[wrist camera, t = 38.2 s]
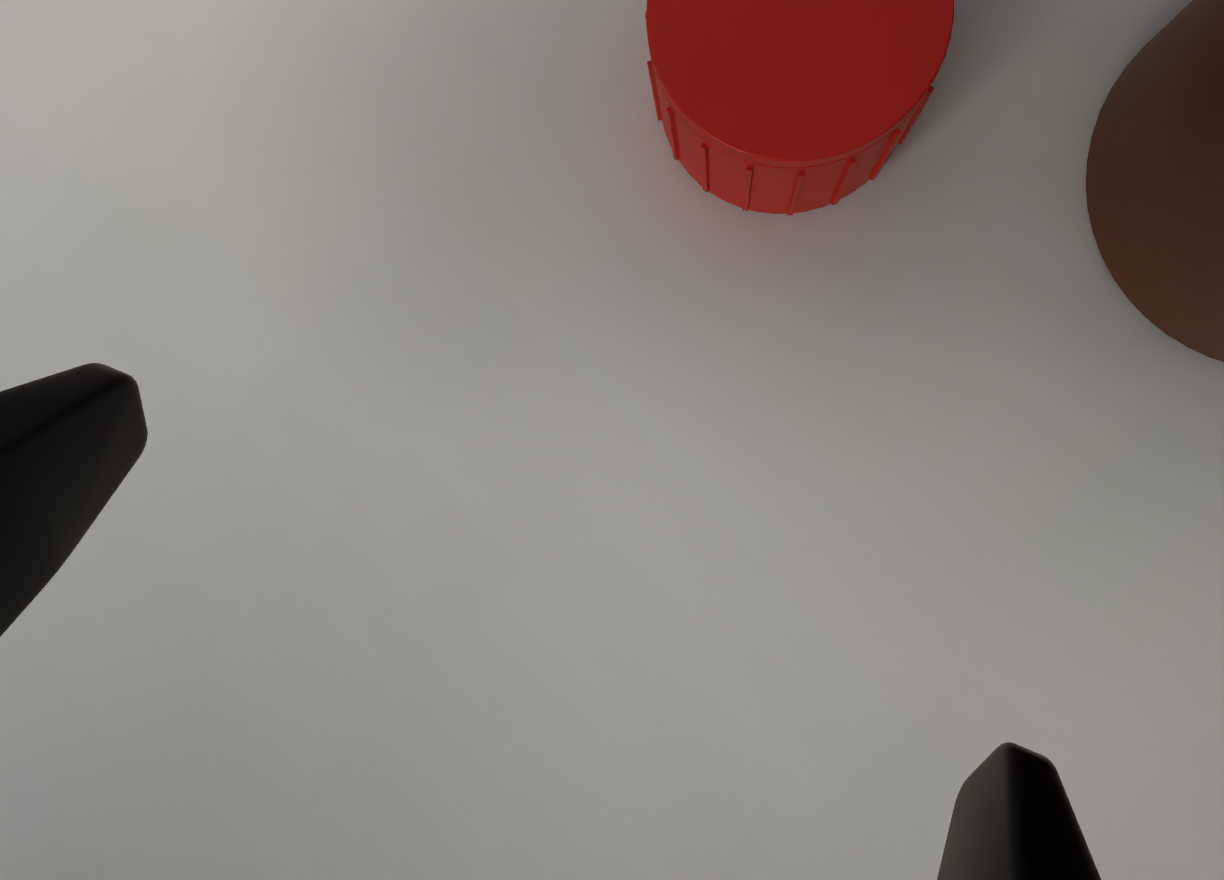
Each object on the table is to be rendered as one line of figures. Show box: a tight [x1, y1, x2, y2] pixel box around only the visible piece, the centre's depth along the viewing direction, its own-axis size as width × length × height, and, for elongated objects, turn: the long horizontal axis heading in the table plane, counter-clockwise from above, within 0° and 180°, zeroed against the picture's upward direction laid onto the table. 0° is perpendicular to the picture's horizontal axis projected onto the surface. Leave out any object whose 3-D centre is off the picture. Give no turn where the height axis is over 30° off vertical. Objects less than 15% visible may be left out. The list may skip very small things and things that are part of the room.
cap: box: [645, 0, 954, 215], centre depth 15 cm, size 4×4×3 cm
